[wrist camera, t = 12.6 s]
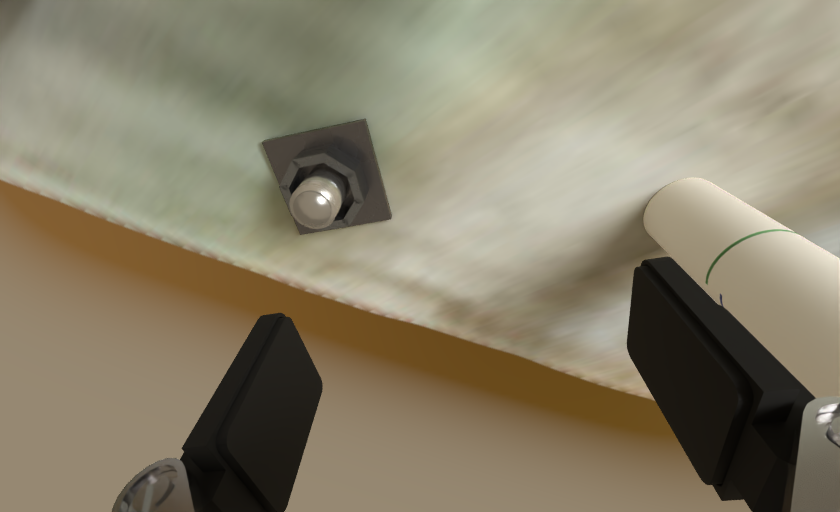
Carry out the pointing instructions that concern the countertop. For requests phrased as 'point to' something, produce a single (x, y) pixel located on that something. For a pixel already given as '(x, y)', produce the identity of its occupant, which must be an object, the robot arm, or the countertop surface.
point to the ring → (341, 164)
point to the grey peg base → (329, 176)
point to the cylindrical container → (756, 275)
